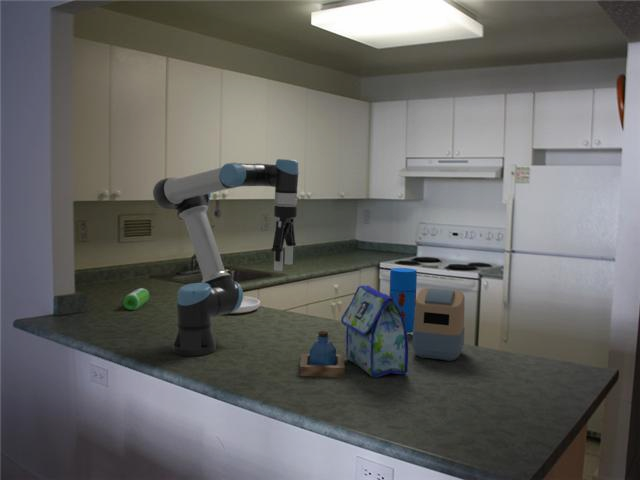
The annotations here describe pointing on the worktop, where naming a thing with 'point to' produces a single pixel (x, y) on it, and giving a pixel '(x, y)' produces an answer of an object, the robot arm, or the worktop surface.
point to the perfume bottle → (323, 351)
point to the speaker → (136, 299)
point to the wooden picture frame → (322, 367)
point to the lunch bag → (376, 333)
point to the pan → (247, 305)
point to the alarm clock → (439, 324)
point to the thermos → (404, 293)
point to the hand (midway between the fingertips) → (283, 267)
